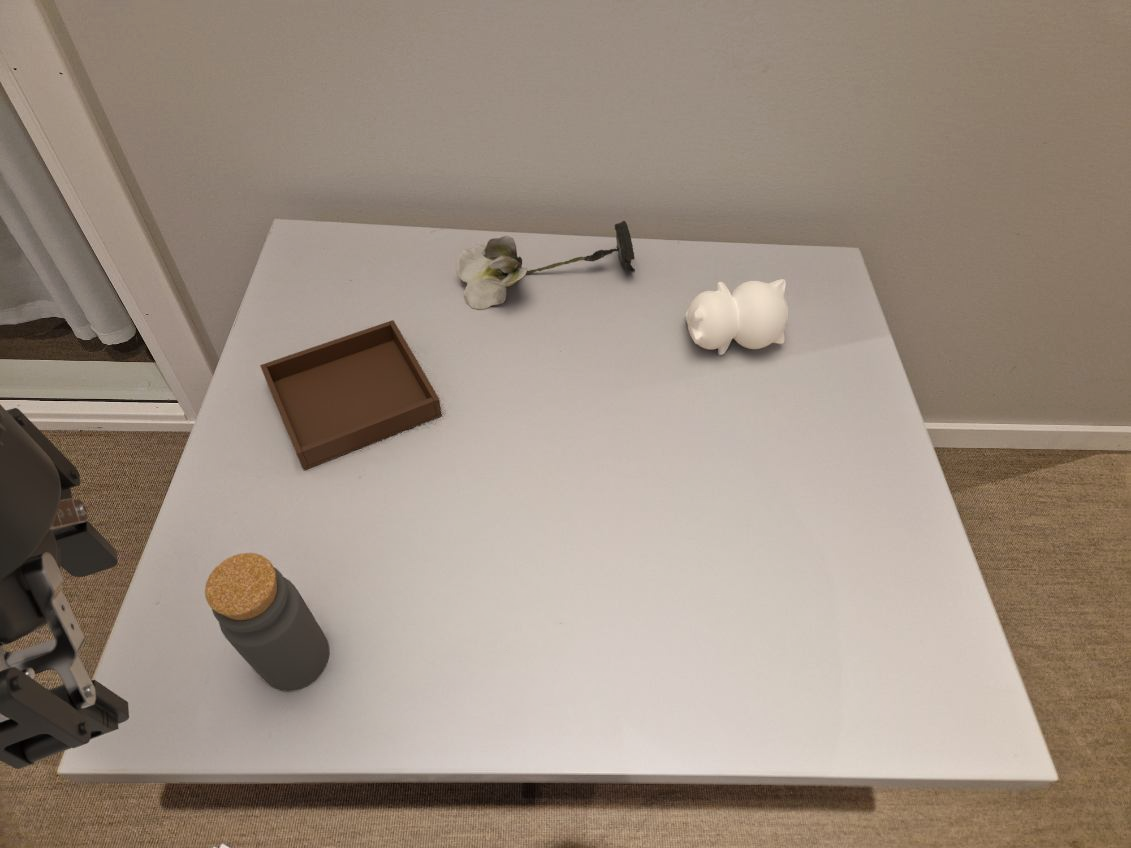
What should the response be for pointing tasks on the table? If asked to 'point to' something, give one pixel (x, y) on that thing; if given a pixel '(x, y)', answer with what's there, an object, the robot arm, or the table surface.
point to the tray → (350, 393)
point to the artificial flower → (516, 267)
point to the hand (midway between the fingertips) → (102, 639)
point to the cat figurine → (739, 316)
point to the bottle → (267, 621)
